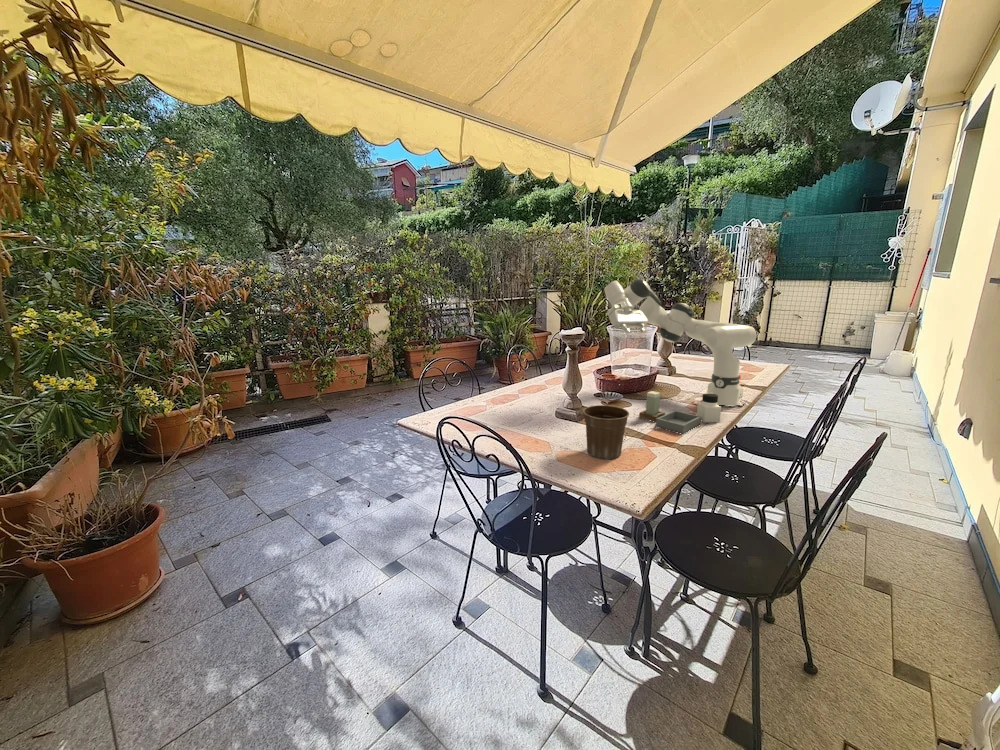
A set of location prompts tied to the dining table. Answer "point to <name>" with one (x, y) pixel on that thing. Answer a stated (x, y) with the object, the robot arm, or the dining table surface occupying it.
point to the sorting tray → (678, 421)
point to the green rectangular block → (652, 403)
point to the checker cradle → (650, 417)
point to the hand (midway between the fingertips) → (635, 332)
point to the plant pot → (605, 430)
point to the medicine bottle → (709, 408)
